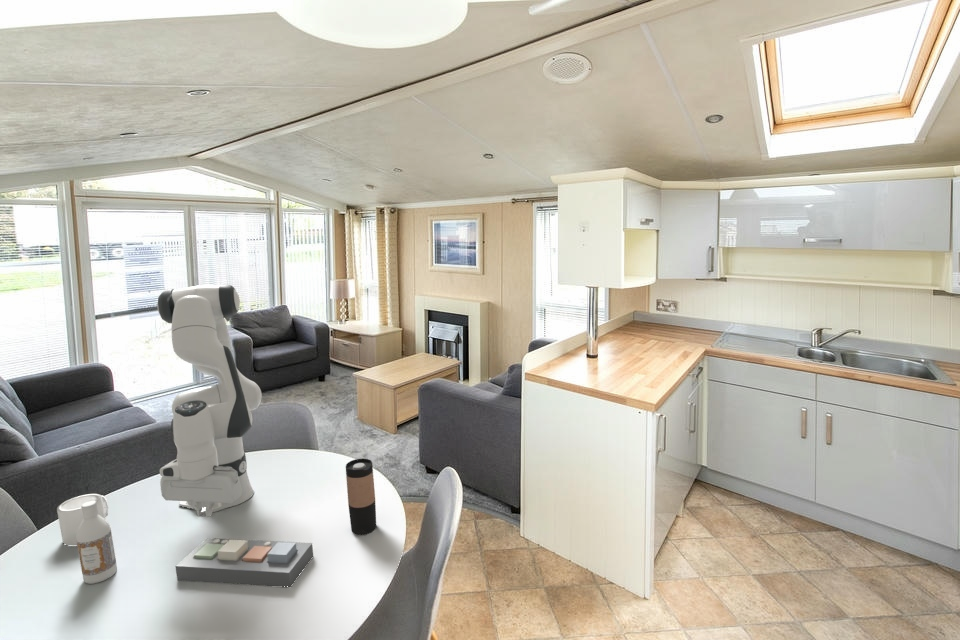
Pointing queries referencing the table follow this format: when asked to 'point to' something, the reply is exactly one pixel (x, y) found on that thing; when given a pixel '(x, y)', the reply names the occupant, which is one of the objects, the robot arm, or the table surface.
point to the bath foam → (95, 546)
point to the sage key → (208, 551)
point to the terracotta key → (257, 554)
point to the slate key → (282, 552)
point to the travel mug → (361, 496)
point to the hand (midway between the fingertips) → (205, 515)
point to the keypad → (244, 566)
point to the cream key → (233, 550)
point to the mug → (77, 515)
